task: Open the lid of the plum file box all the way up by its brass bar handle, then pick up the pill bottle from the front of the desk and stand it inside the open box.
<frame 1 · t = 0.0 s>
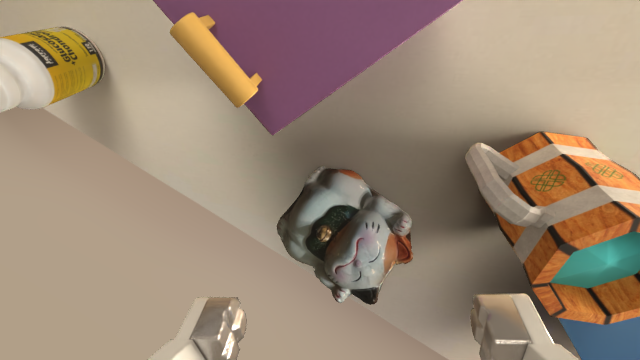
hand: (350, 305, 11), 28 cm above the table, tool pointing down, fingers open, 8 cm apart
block: (634, 276, 47), on the table
pill bottle: (80, 56, 37), on the table
lucky cat figurine: (343, 204, 45), on the table
wooden beer tankard: (517, 168, 39), on the table
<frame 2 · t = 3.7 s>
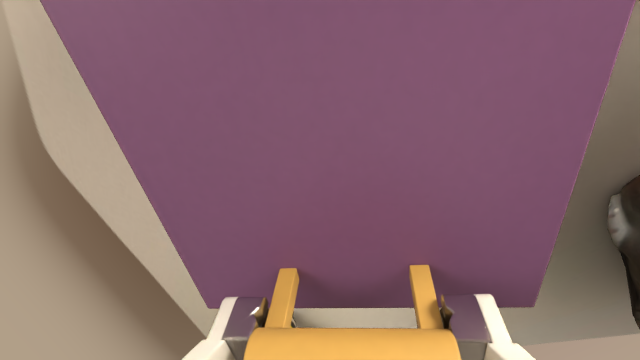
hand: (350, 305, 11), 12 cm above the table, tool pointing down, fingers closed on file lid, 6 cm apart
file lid: (319, 124, 7), point 13 cm above the table, hinge at -0.1°, touching gripper
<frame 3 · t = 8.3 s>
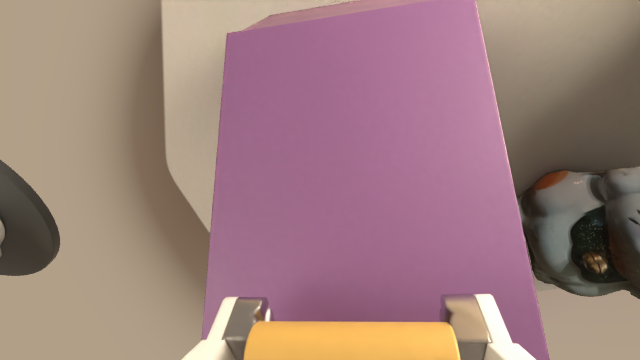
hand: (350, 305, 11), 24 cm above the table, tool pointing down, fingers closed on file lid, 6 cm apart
file box: (358, 104, 31), on the table
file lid: (345, 159, 13), point 19 cm above the table, hinge at 50.6°, touching gripper
lucky cat figurine: (578, 201, 35), on the table
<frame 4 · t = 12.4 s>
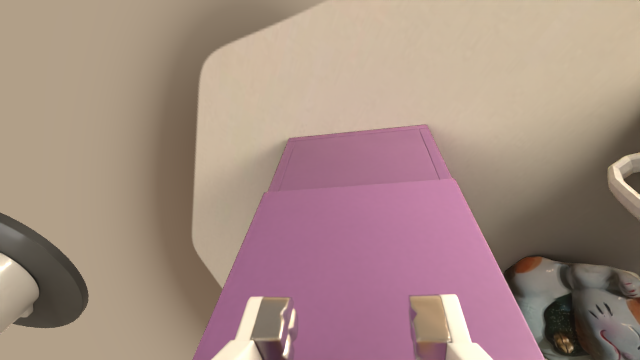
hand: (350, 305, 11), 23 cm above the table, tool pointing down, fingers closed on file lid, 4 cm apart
file box: (362, 202, 37), on the table
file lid: (350, 264, 14), point 20 cm above the table, hinge at 90.9°, touching gripper
lucky cat figurine: (552, 277, 41), on the table
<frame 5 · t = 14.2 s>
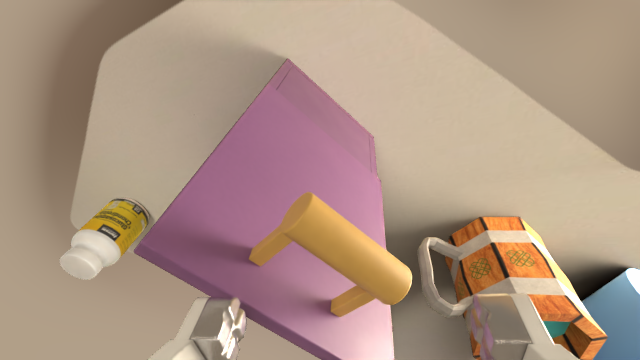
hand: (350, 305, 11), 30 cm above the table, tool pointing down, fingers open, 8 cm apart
file box: (287, 147, 42), on the table
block: (607, 308, 53), on the table
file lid: (334, 181, 20), point 20 cm above the table, hinge at 88.8°
pill bottle: (131, 210, 51), on the table
wooden beer tankard: (471, 242, 48), on the table
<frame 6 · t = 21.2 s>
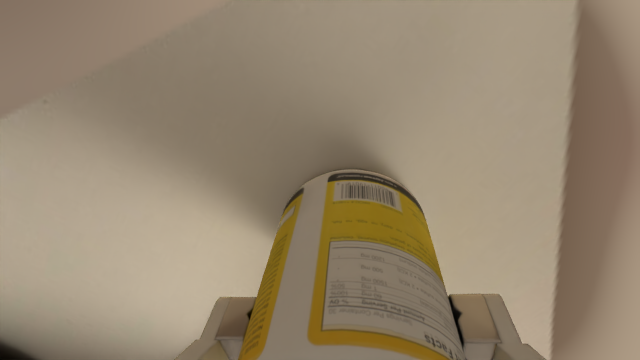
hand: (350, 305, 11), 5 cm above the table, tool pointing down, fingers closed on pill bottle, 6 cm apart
pill bottle: (352, 218, 15), on the table, touching gripper
when the fingers open (6 cm above the table, at t = 31.1 s): pill bottle stays where it is, resting on file box.
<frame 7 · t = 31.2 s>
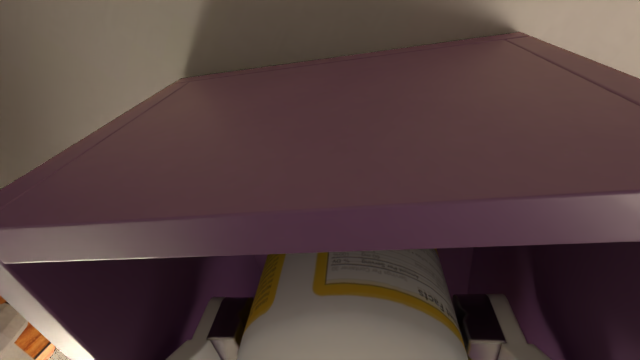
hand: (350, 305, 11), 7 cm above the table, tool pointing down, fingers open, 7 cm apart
file box: (355, 223, 18), on the table
pill bottle: (353, 200, 16), point 1 cm above the table, touching file box
wooden beer tankard: (2, 303, 27), on the table
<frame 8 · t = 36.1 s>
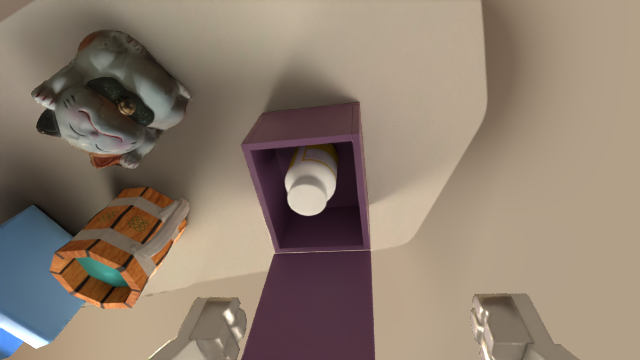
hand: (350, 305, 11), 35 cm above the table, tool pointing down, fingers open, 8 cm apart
file box: (319, 162, 49), on the table
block: (59, 242, 66), on the table
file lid: (316, 323, 38), point 20 cm above the table, hinge at 88.8°
pill bottle: (317, 152, 47), point 1 cm above the table, touching file box
lucky cat figurine: (146, 90, 46), on the table
wooden beer tankard: (162, 208, 58), on the table
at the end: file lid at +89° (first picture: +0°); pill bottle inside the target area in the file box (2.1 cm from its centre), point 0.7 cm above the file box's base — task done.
